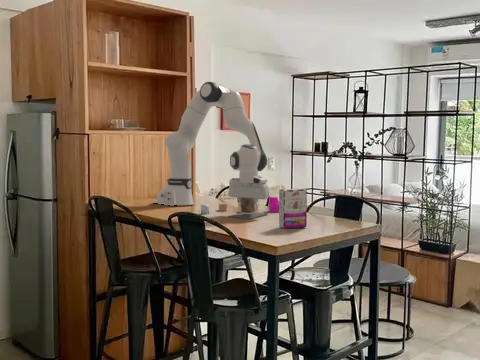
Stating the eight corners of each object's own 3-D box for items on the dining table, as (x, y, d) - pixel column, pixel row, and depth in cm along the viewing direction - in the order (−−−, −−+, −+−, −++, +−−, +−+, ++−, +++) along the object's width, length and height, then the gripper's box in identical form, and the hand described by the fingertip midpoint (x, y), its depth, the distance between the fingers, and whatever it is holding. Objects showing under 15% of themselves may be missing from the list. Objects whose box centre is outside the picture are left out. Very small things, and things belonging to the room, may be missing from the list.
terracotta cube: (218, 211, 275) (219, 204, 275) (219, 210, 279) (219, 203, 279) (226, 212, 275) (226, 204, 275) (227, 210, 279) (227, 203, 279)
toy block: (276, 213, 275) (276, 198, 274) (268, 211, 280) (268, 197, 279) (298, 210, 284) (298, 196, 283) (290, 209, 289) (290, 195, 288)
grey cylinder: (199, 215, 263) (199, 205, 263) (203, 214, 266) (203, 204, 266) (206, 215, 261) (206, 205, 261) (210, 214, 265) (210, 204, 264)
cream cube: (238, 212, 274) (238, 204, 274) (243, 211, 277) (244, 204, 276) (244, 213, 271) (244, 205, 271) (249, 212, 274) (249, 204, 274)
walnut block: (241, 212, 259) (241, 199, 259) (245, 210, 264) (246, 198, 263) (250, 212, 257) (250, 200, 256) (255, 211, 261) (255, 199, 261)
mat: (228, 217, 255) (228, 216, 255) (245, 213, 271) (245, 211, 271) (250, 220, 250) (250, 218, 250) (267, 215, 266) (267, 213, 266)
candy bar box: (300, 225, 236) (301, 188, 235) (306, 227, 231) (307, 189, 230) (277, 227, 232) (278, 188, 230) (283, 229, 227) (284, 190, 226)
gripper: (226, 178, 261) (226, 206, 262) (264, 180, 252) (264, 209, 253) (232, 177, 267) (232, 205, 268) (270, 179, 257) (270, 208, 258)
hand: (248, 207), depth 260 cm, fingers closed on walnut block, 5 cm apart
